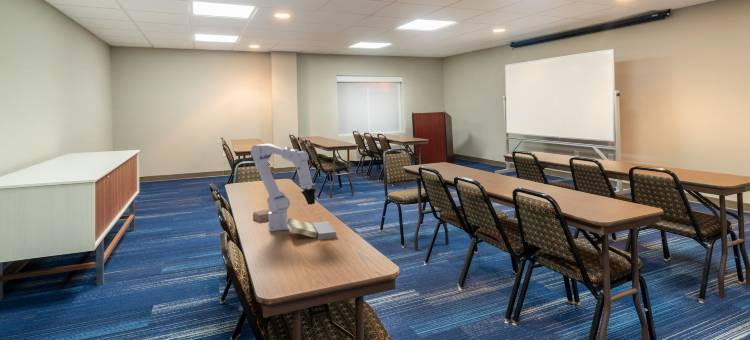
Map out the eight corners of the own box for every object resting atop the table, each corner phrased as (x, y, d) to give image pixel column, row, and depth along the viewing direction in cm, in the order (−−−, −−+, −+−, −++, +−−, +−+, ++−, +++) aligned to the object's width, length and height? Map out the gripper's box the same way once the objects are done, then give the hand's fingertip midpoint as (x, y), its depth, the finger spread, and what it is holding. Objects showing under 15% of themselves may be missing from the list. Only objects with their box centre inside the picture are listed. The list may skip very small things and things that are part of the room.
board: (319, 239, 197) (318, 233, 196) (312, 228, 216) (312, 222, 215) (336, 237, 199) (335, 231, 199) (328, 226, 218) (327, 221, 218)
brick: (259, 222, 229) (258, 214, 229) (252, 219, 235) (251, 211, 235) (286, 217, 240) (286, 209, 239) (279, 214, 246) (278, 206, 246)
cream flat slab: (290, 231, 194) (292, 226, 194) (287, 222, 210) (288, 218, 209) (315, 237, 198) (317, 232, 198) (310, 228, 213) (312, 223, 213)
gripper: (315, 173, 197) (322, 202, 197) (310, 175, 211) (317, 201, 211) (300, 177, 195) (307, 205, 195) (296, 178, 209) (303, 205, 209)
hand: (311, 204), depth 203 cm, fingers open, 7 cm apart
